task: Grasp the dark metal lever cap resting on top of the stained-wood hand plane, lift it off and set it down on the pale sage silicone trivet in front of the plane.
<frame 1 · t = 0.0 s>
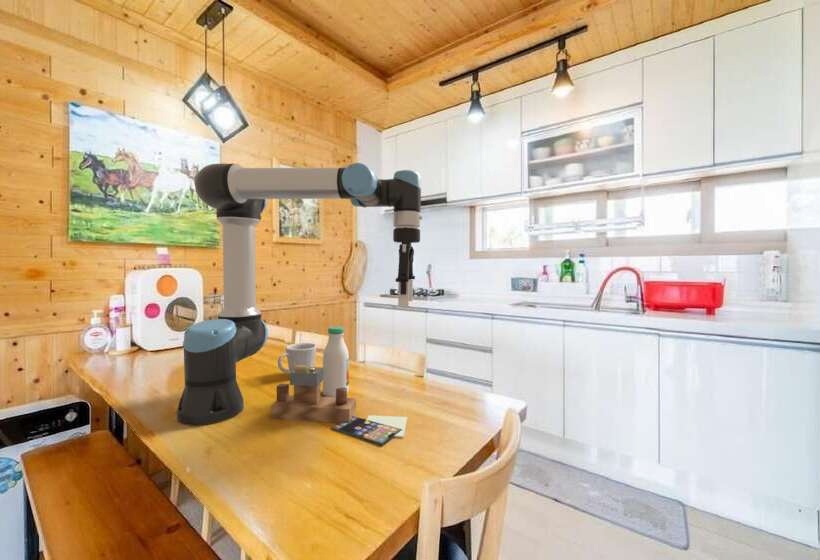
hand: (405, 303, 100), 28 cm above the table, fingers open, 13 cm apart
plane body: (314, 414, 92), on the table
lever cap: (307, 382, 92), point 8 cm above the table, touching plane body
smartphone: (366, 432, 84), on the table
mug: (296, 376, 123), on the table
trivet: (384, 426, 86), on the table
milk bottle: (335, 393, 107), on the table
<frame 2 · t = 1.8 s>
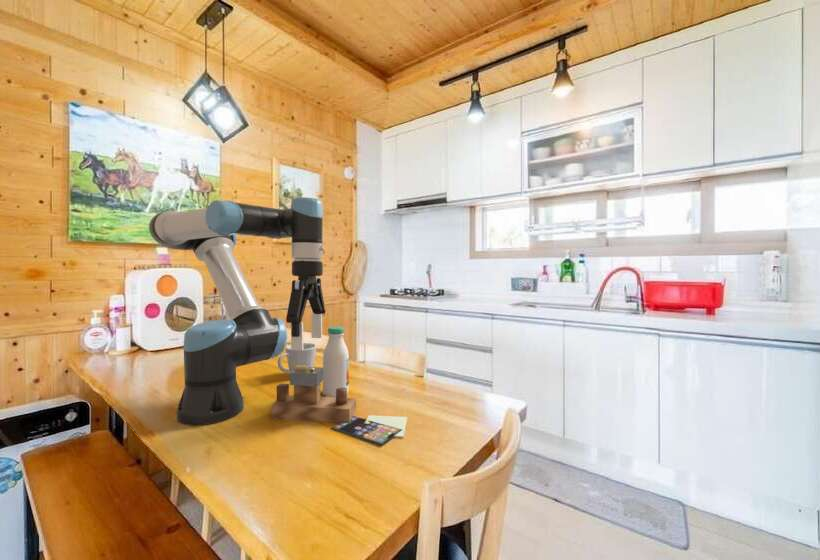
hand: (307, 343, 91), 19 cm above the table, fingers open, 13 cm apart
nothing on the table moved.
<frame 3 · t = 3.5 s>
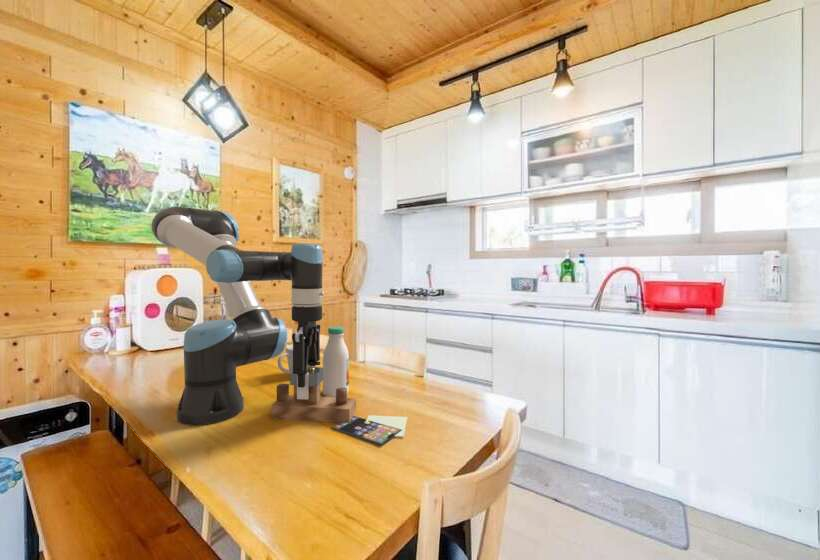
hand: (307, 394, 92), 5 cm above the table, fingers closed on lever cap, 5 cm apart
lever cap: (307, 382, 92), point 9 cm above the table, touching gripper, plane body
everything else where it was.
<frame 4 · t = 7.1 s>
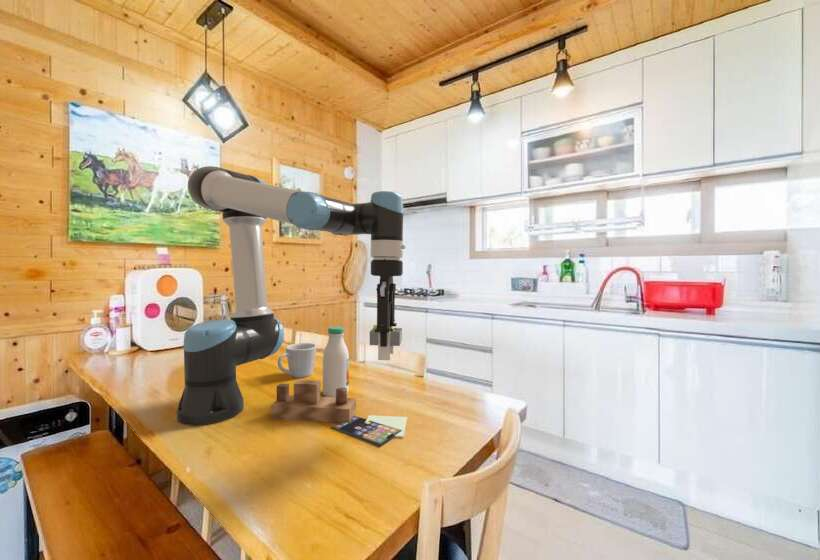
hand: (386, 356, 85), 17 cm above the table, fingers closed on lever cap, 5 cm apart
lever cap: (386, 343, 85), point 20 cm above the table, touching gripper
everything else where it was.
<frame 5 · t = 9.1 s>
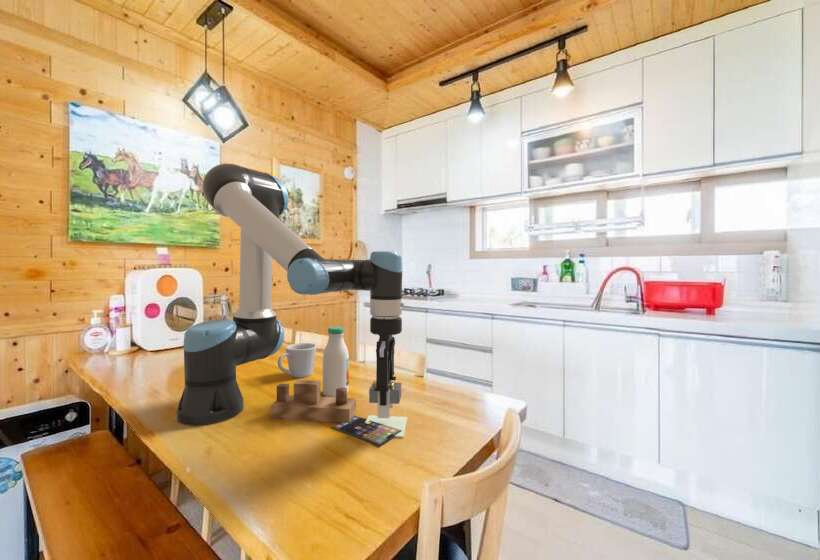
hand: (385, 412, 86), 4 cm above the table, fingers closed on lever cap, 5 cm apart
lever cap: (385, 399, 86), point 7 cm above the table, touching gripper
everything else where it was.
when the fingers open (1 cm above the table, at t = 10.6 s): lever cap drops 4 cm, resting on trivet.
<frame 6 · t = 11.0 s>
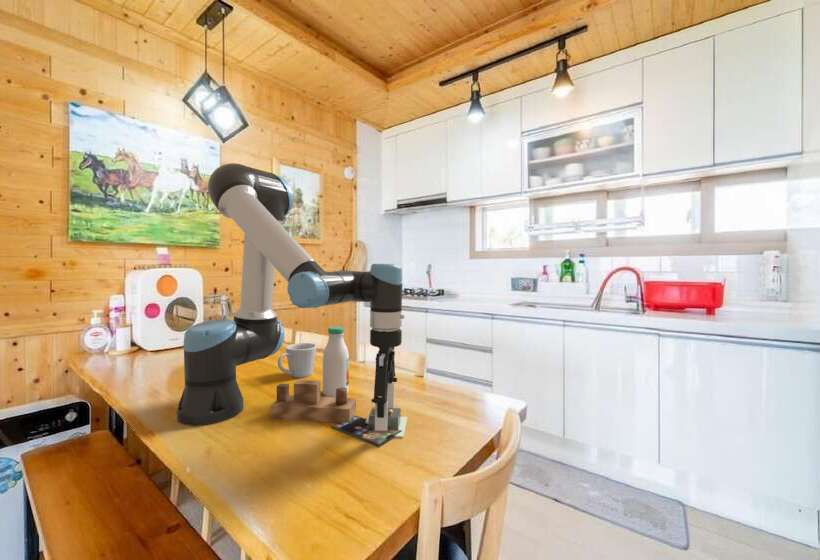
hand: (385, 418, 86), 2 cm above the table, fingers open, 11 cm apart
lever cap: (384, 425, 86), resting on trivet
everything else where it was.
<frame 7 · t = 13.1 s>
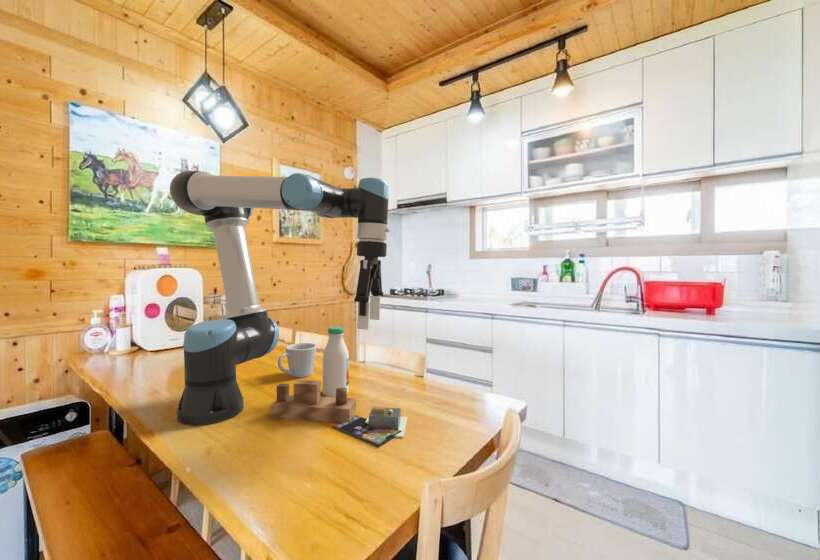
hand: (369, 324, 92), 24 cm above the table, fingers open, 13 cm apart
nothing on the table moved.
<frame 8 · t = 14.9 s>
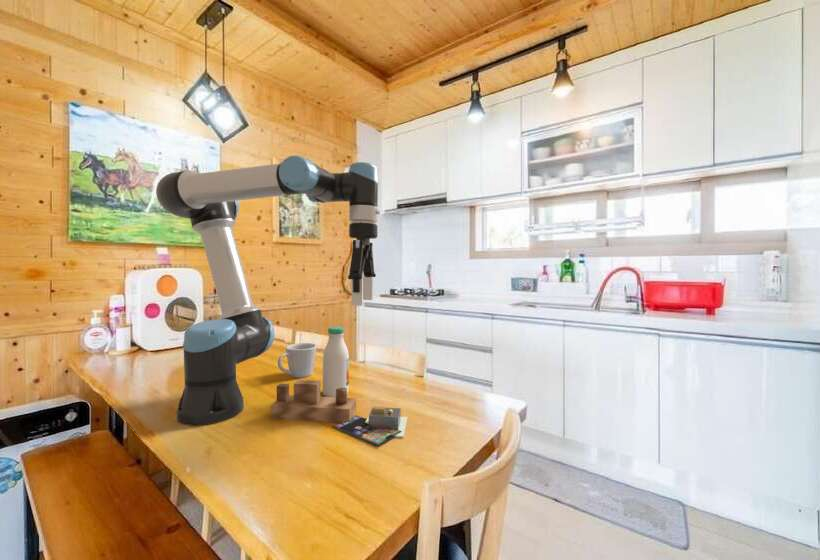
hand: (362, 302, 96), 29 cm above the table, fingers open, 13 cm apart
nothing on the table moved.
at the end: lever cap inside the target area on the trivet (0.0 cm from its centre), point 0.4 cm above the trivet's base; lever cap touching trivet; lever cap tilted 0° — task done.
